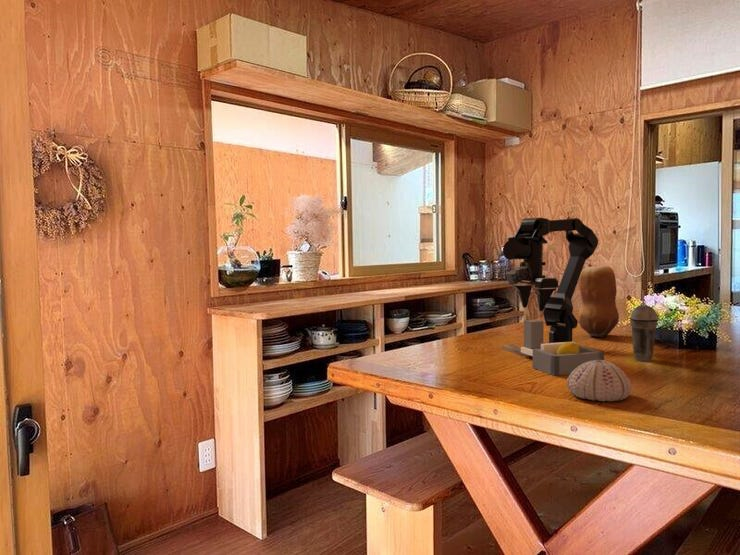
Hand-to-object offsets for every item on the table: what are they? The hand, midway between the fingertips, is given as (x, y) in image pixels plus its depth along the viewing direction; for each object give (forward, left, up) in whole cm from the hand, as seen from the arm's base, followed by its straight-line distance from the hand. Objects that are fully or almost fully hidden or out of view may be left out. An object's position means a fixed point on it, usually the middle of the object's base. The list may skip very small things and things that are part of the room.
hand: (532, 309), depth 177 cm
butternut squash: (-35, -14, -13) cm, 40 cm away
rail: (+5, +1, -13) cm, 14 cm away
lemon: (+5, +23, -12) cm, 26 cm away
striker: (+5, +14, -12) cm, 19 cm away
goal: (+5, +25, -13) cm, 29 cm away
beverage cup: (-22, +22, -13) cm, 34 cm away
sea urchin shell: (+14, +49, -13) cm, 53 cm away
